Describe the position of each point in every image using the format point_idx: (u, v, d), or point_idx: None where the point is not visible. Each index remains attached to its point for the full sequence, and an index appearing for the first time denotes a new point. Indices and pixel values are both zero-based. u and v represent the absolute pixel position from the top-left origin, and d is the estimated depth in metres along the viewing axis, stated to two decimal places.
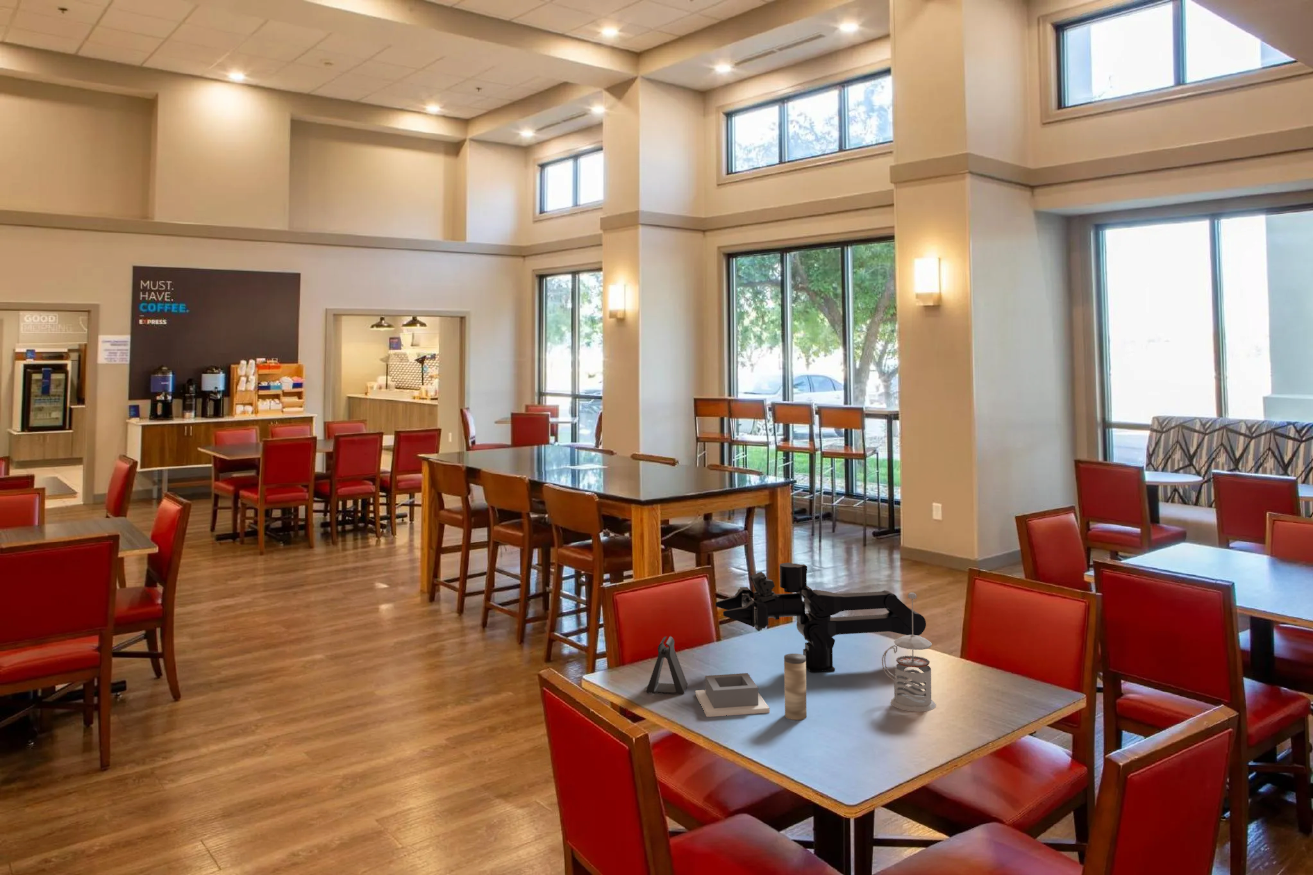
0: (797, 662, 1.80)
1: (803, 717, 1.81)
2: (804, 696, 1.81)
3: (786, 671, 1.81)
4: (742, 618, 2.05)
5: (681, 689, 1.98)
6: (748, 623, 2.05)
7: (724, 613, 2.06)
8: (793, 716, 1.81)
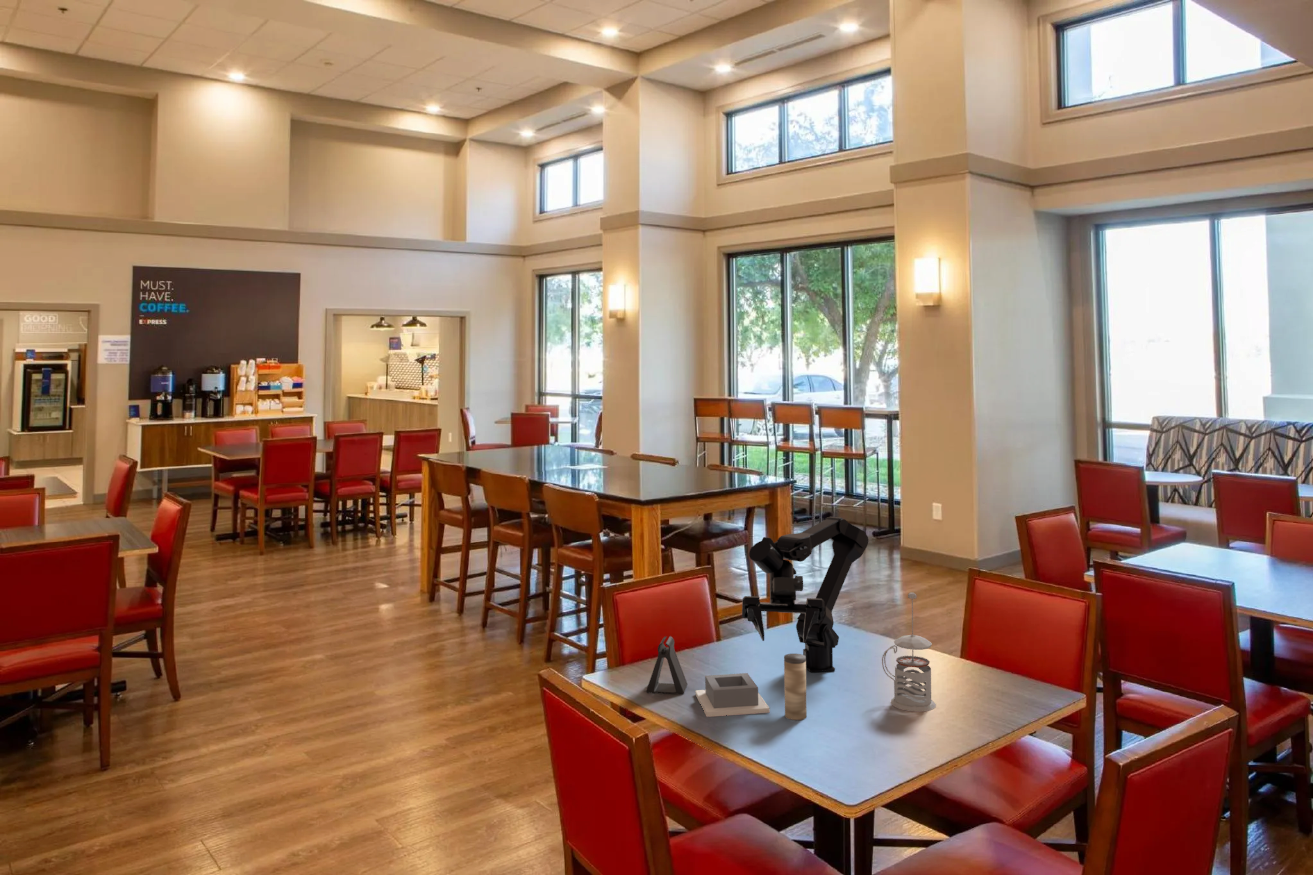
0: (797, 662, 1.80)
1: (803, 717, 1.81)
2: (804, 696, 1.81)
3: (786, 671, 1.81)
4: (809, 627, 1.94)
5: (681, 689, 1.98)
6: (811, 624, 1.96)
7: (805, 640, 1.90)
8: (793, 716, 1.81)
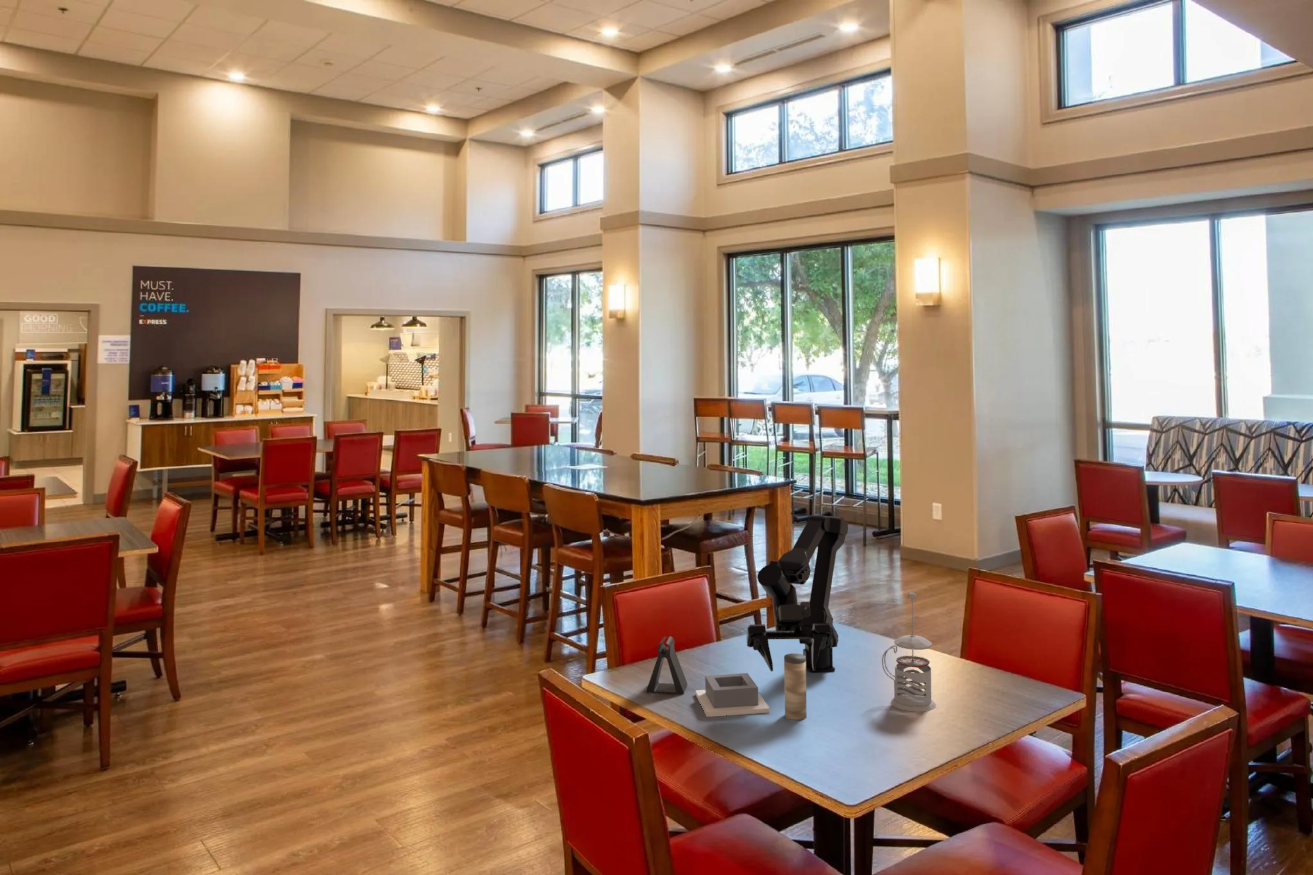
0: (797, 662, 1.80)
1: (803, 717, 1.81)
2: (804, 696, 1.81)
3: (786, 671, 1.81)
4: None
5: (681, 689, 1.98)
6: (818, 650, 1.90)
7: (815, 668, 1.85)
8: (793, 716, 1.81)
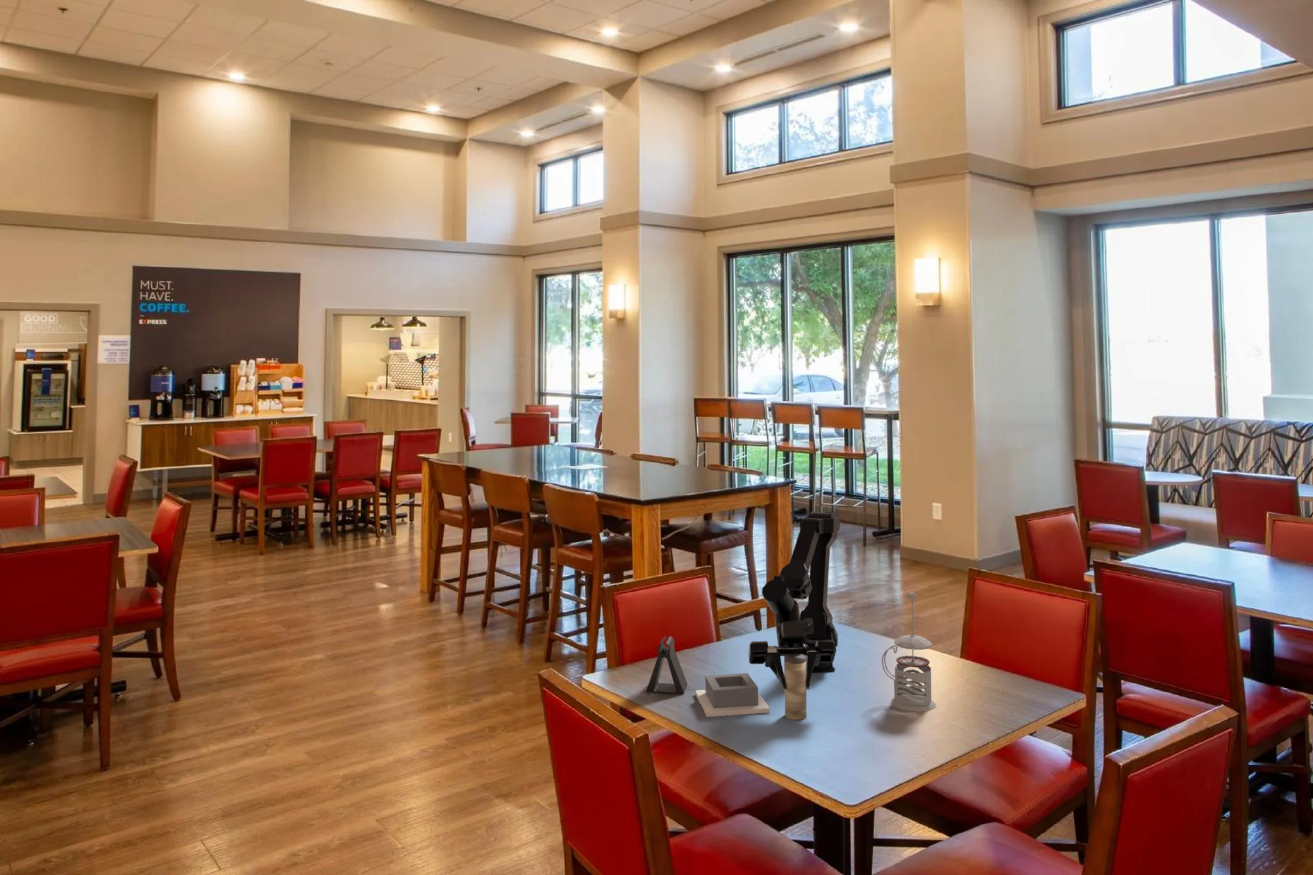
0: (797, 662, 1.80)
1: (803, 717, 1.81)
2: (804, 696, 1.81)
3: (786, 671, 1.81)
4: None
5: (681, 689, 1.98)
6: (812, 667, 1.87)
7: None
8: (793, 716, 1.81)
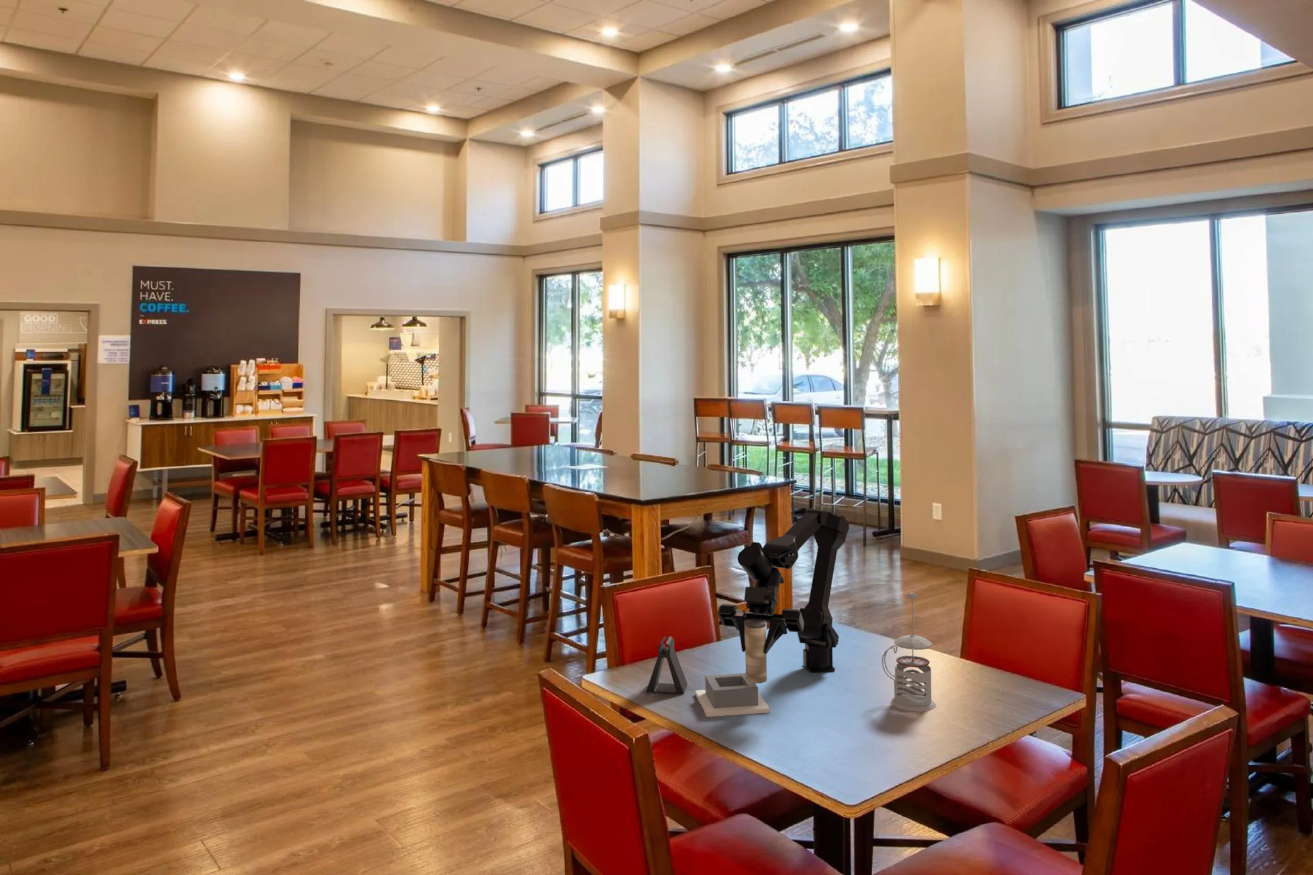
0: (753, 626, 1.84)
1: (760, 681, 1.84)
2: (761, 661, 1.84)
3: (745, 634, 1.86)
4: (775, 637, 1.87)
5: (681, 689, 1.98)
6: (780, 635, 1.89)
7: (766, 652, 1.84)
8: (750, 679, 1.85)
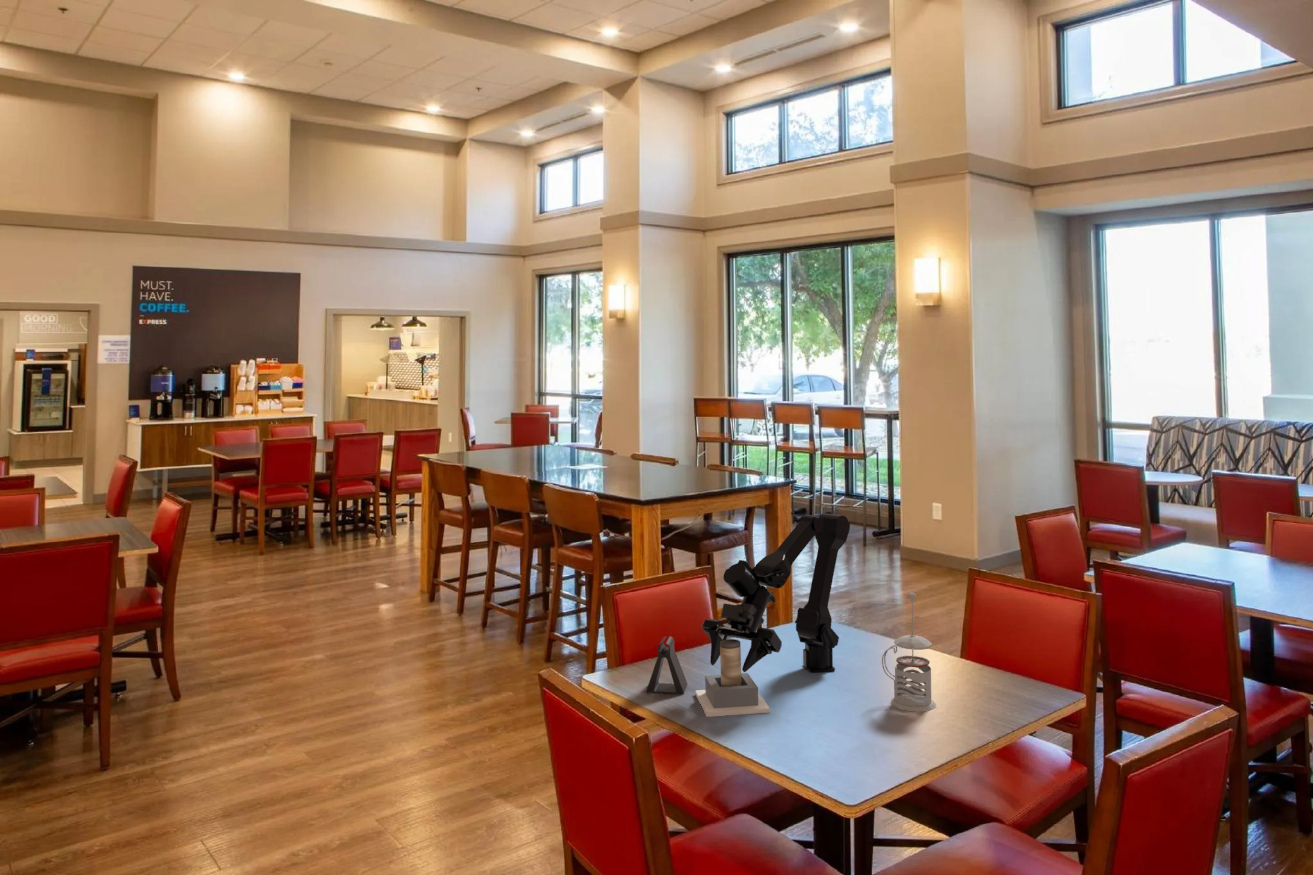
0: (725, 647, 1.89)
1: None
2: (733, 681, 1.89)
3: (720, 654, 1.91)
4: (757, 656, 1.89)
5: (681, 689, 1.98)
6: (764, 654, 1.90)
7: (744, 670, 1.87)
8: None
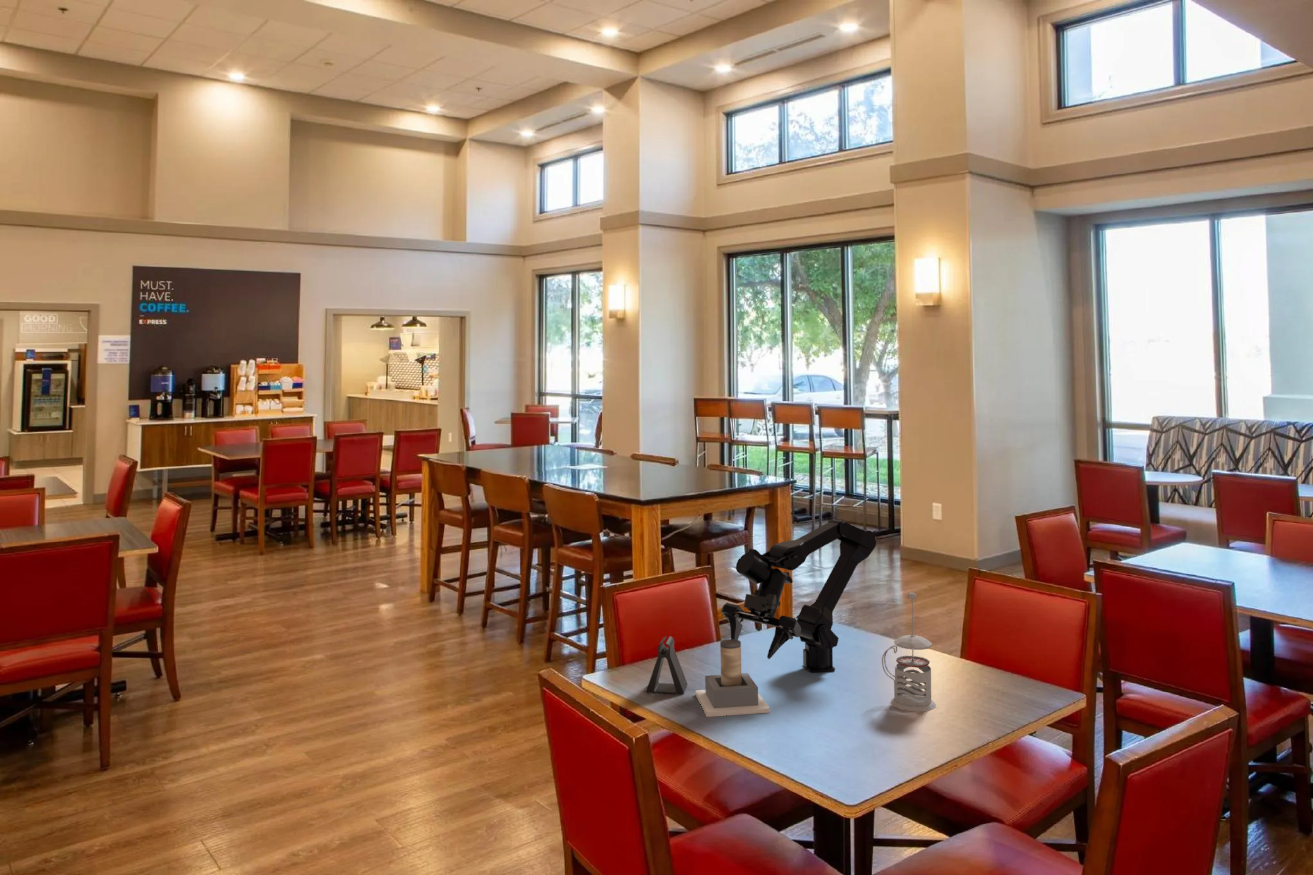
0: (725, 647, 1.89)
1: None
2: (734, 681, 1.89)
3: None
4: (780, 643, 1.98)
5: (681, 689, 1.98)
6: (785, 640, 1.99)
7: (769, 657, 1.96)
8: None
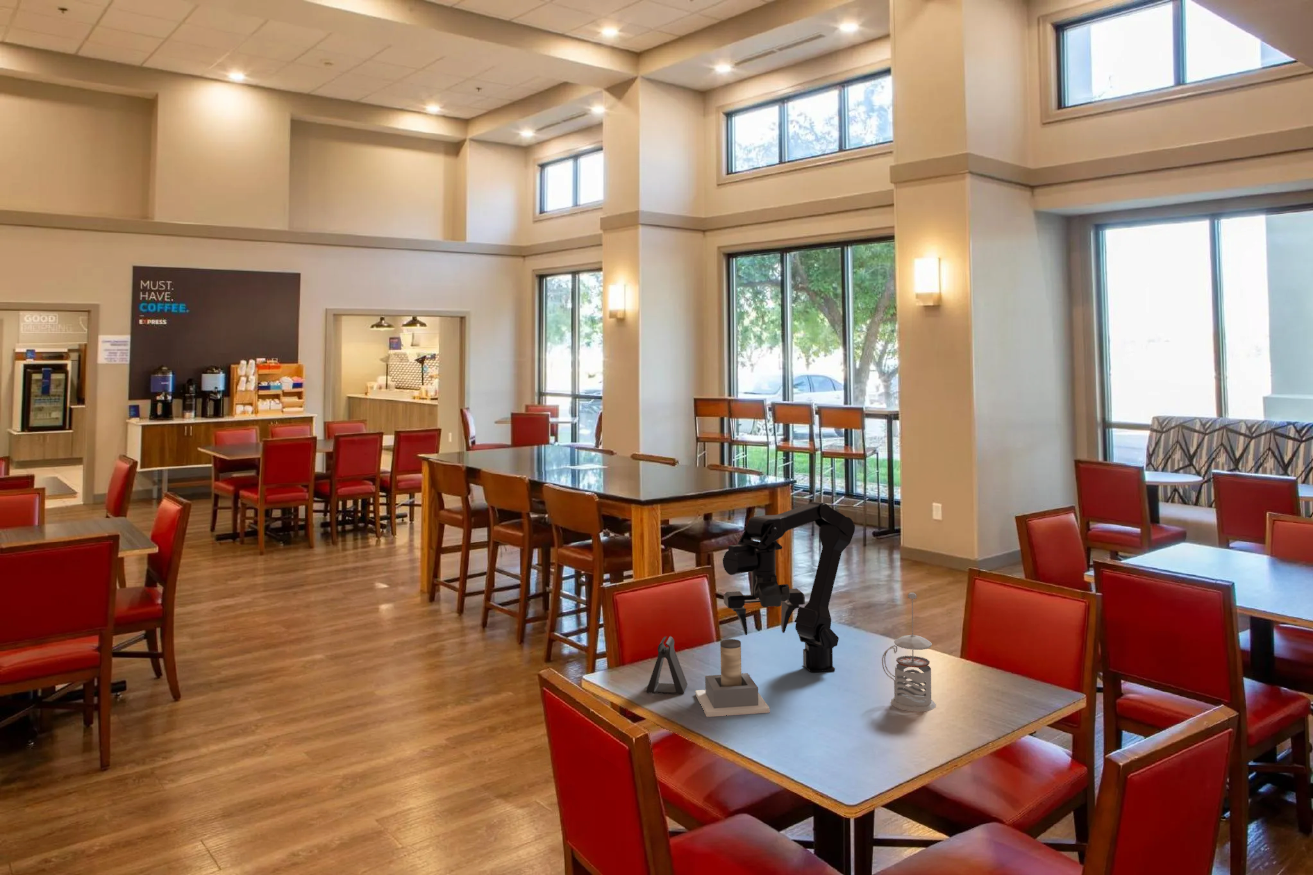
0: (725, 646, 1.89)
1: None
2: (734, 681, 1.89)
3: None
4: None
5: (681, 689, 1.98)
6: None
7: None
8: None
